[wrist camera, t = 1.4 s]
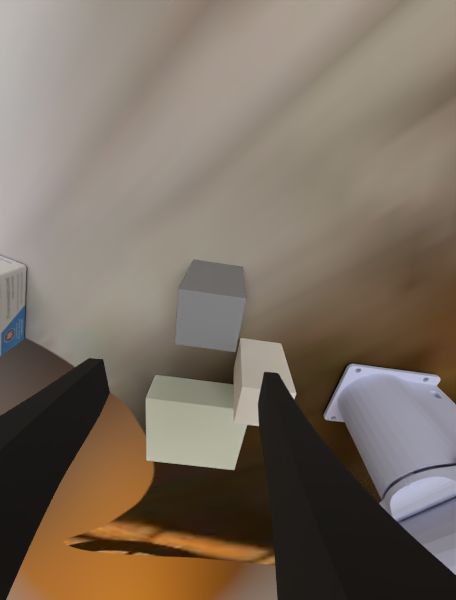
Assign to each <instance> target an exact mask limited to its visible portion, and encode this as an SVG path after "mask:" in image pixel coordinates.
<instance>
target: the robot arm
mask: <svg viewBox="0 0 456 600" xmlns="http://www.w3.org/2000/svg"><path fill="white" fill-rule="evenodd" d="M356 369H357V370H356ZM439 382H440V378H439V377H438V376H437V375H434V374H427V373H419V372H412V371H404V370H397V369H389V368H382V367H374V366H367V365H359V364H349V365H348V366H347V368H346V370H345V372H344V374H343V376H342V378H341V380H340V382H339V384H338V386H337V388H336V390H335V392H334V394H333V396H332V398H331V400H330V402H329V404H328V406H327V408H326V410H325V412H324V415H323V416H324V418H325V419H326V420H331V421H339V422H345V424H346V426H347V428H348V430H349V432H350V434H351V437H352V439H353V441H354V443H355V445H356V447H357V449H358V451H359V453H360V455H361V458H362V460H363V462H364V464H365V466H366V468H367V470H368V472H369V474H370V476H371V479H372V481H373V483H374V485H375V487H376V489H377V491H378V493H379V495H380V498H381V500H382V501H381V502H380V503H378V502H377V501H376V500H375V499H374V498H373V497H372V496H371V495H370V494H369V493H368V492H367V491H366V490H365V489H364V488H363V487H362V485H361V484H360V483H359V482H358V481H357V480H356V479H355V478H354V477H353V476H352V475H351V473H350V472H349V471H348V470H347V469H346V468H345V467H344V466H343V464H342V463H341V462H340V461H339V460H338V458H337V457H336V456H335V455H334V454H333V453H332V451H331V450H330V449H329V448H328V446H327V445H326V444H325V443H324V441H323V440H322V439H321V437H320V436H319V435H318V433H317V432H316V431H315V429H314V428H313V427H312V425H311V424H310V422H309V421H308V420H307V418H306V417H305V415H304V414H303V412H302V411H301V409H300V408H299V406H298V405H297V403H296V402H295V400H294V399H293V397H292V395H291V394H290V392H289V390H288V389H287V387H286V385H285V384H284V382H283V380H282V379H281V377H280V375H279V374H278V373H274V372H264V375H263V380H262V385H261V390H260V395H259V400H258V418H259V430H260V436H261V442H262V448H263V455H264V461H265V467H266V473H267V479H268V485H269V493H270V502H271V513H272V525H273V538H274V552H275V565H276V581H277V596H278V600H456V404H455V403H454V402H453V401H452V400H451V399H450V398H449V397H448V396H447V395H446V394H444V393H443V392H442V391H441V390H440V389H439V388H438V387H437V384H438V383H439ZM109 393H110V391H109V386H108V381H107V376H106V371H105V366H104V361H103V359H92V358H89V359H87V360H86V361H84V362H83V363H81V364H80V365H78V366H77V367H75V368H74V369H72V370H71V371H69V372H68V373H67V374H65V375H63V376H62V377H60V378H59V379H58V380H56V381H54V382H53V383H51V384H50V385H49V386H47V387H45V388H44V389H42V390H41V391H40V392H38V393H36V394H35V395H33V396H32V397H30V398H28V399H27V400H25V401H24V402H22V403H20V404H19V405H17V406H16V407H14V408H12V409H11V410H9V411H7V412H6V413H4V414H3V415H1V416H0V600H6V599H7V596H8V594H9V592H10V589H11V587H12V585H13V582H14V580H15V578H16V576H17V573H18V571H19V569H20V567H21V564H22V562H23V560H24V557H25V555H26V553H27V551H28V548H29V546H30V544H31V542H32V540H33V538H34V536H35V533H36V531H37V529H38V527H39V525H40V523H41V521H42V518H43V516H44V514H45V512H46V510H47V508H48V506H49V504H50V502H51V500H52V498H53V496H54V494H55V492H56V490H57V488H58V486H59V484H60V482H61V480H62V478H63V477H64V475H65V473H66V471H67V470H68V468H69V466H70V464H71V463H72V461H73V460H74V458H75V456H76V454H77V453H78V451H79V449H80V448H81V446H82V444H83V443H84V441H85V439H86V438H87V436H88V434H89V433H90V431H91V429H92V428H93V426H94V424H95V422H96V421H97V419H98V417H99V416H100V413H101V411H102V409H103V407H104V405H105V402H106V400H107V398H108V395H109Z"/></svg>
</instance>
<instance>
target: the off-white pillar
mask: <svg viewBox="0 0 456 600" xmlns="http://www.w3.org/2000/svg"><path fill="white" fill-rule="evenodd" d="M264 372H274V373H278V374H279V375H280V377H281V379H282V380H283V382H284V384H285V385H286V387H287V389H288V390H289V392H290V394H291V395H292V397H293V399H295V396H296V391H295V387H294V384H293V381H292V378H291V374H290V371H289V368H288V364H287V361H286V358H285V355H284V351H283V348H282V345H281V344H280V343H273V342H266V341H258V340H251V339H244V338H240V341H239V346H238V351H237V356H236V361H235V365H234V423H238V424H246V425H254V426H259V418H258V400H259V395H260V390H261V385H262V380H263V375H264Z"/></svg>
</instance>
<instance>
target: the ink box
mask: <svg viewBox="0 0 456 600" xmlns="http://www.w3.org/2000/svg"><path fill="white" fill-rule="evenodd" d="M26 270H27V267H26V265H24V264H21V263H18V262H16V261H13V260H11V259H8V258H5V257H3V256H0V356H2V355H3V354H4V353H6V352H7V351H9V350H10V349H11V348H13V347H14V346H16V345H17V344H18V343H20V342H21V341H23V340H24V330H25V295H26Z"/></svg>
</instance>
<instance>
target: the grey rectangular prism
mask: <svg viewBox="0 0 456 600" xmlns="http://www.w3.org/2000/svg"><path fill="white" fill-rule="evenodd" d="M245 303H246V291H245V282H244V274H243V267H240V266H234V265H227V264H220V263H214V262H207V261H201V260H194V261H193V263H192V265H191V266H190V268H189V270H188V272H187V274H186V276H185V277H184V279H183V281H182V283H181V285H180V287H179V288H178V303H177V321H176V338H175V344H178V345H185V346H193V347H200V348H208V349H215V350H223V351H230V352H236V347H237V342H238V337H239V332H240V327H241V323H242V318H243V313H244V308H245Z"/></svg>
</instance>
